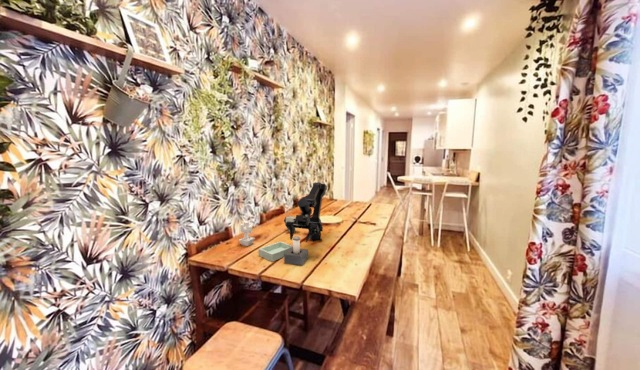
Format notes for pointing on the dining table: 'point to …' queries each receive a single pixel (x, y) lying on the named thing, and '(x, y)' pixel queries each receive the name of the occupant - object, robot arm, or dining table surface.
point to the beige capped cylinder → (296, 245)
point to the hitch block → (296, 257)
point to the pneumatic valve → (290, 220)
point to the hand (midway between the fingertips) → (298, 240)
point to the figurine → (246, 234)
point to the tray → (274, 251)
